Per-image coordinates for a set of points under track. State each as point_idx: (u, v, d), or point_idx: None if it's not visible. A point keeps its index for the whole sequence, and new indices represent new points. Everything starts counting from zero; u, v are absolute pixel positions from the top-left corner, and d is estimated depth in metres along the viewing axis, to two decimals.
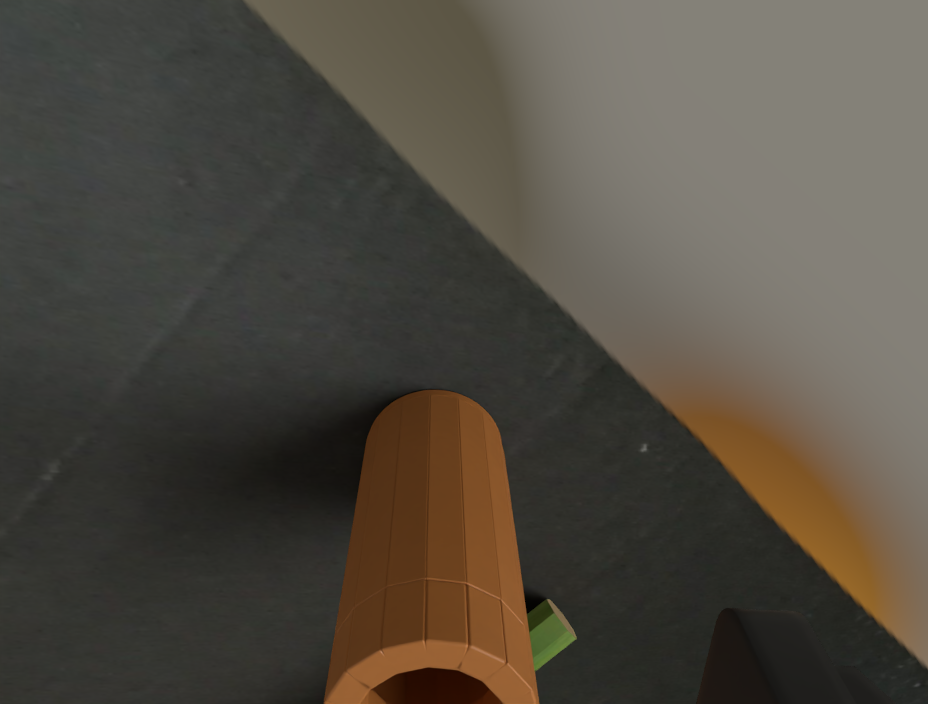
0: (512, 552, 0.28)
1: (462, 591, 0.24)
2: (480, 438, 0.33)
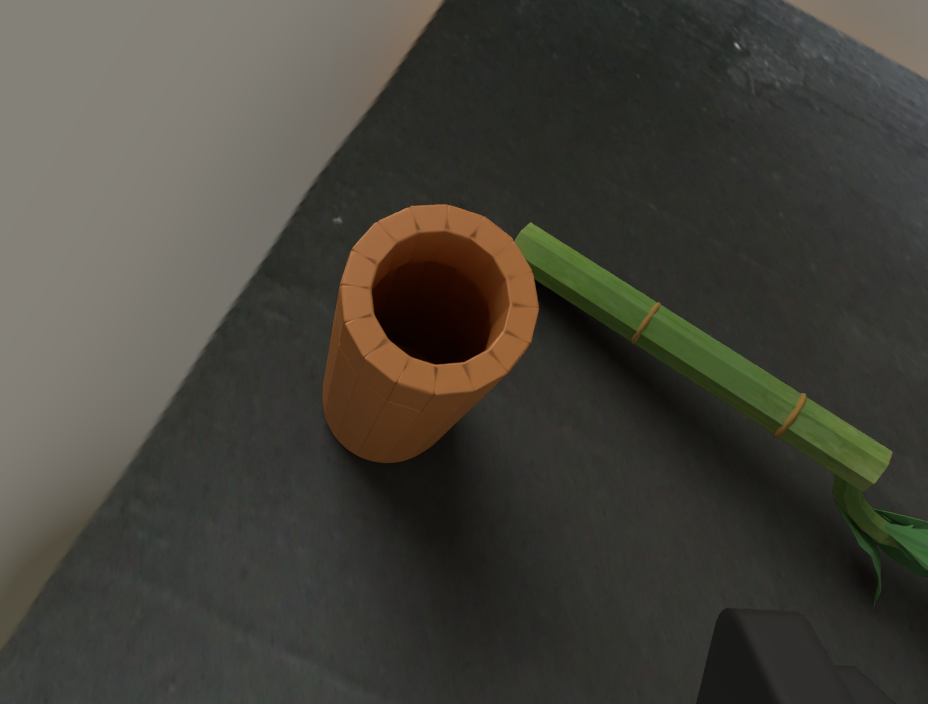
0: None
1: (337, 310, 0.26)
2: None
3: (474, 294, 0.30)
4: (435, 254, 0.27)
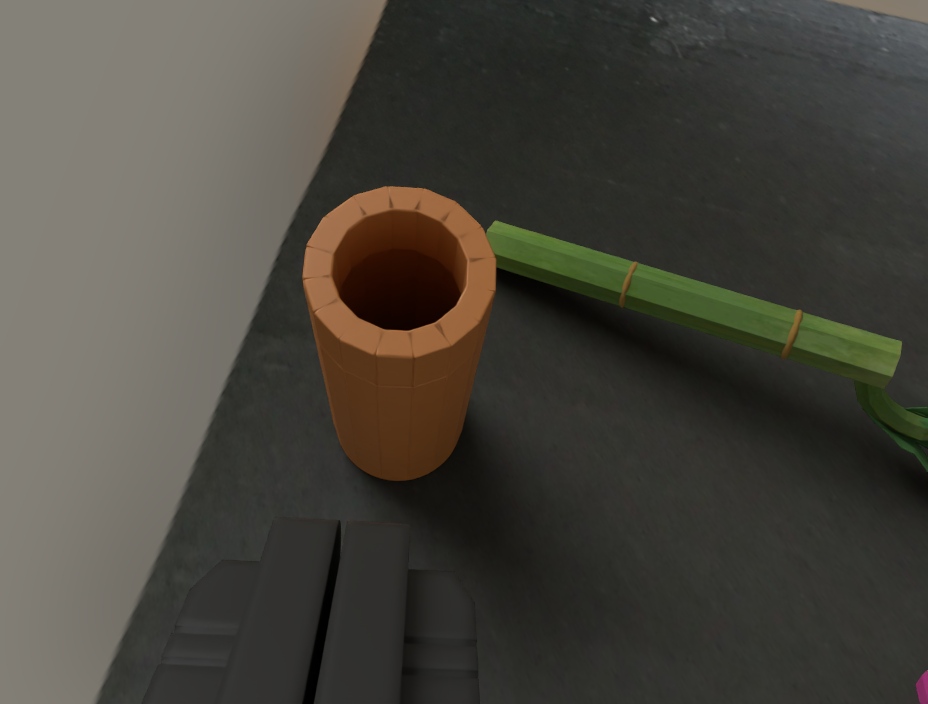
0: None
1: (310, 312, 0.27)
2: None
3: (443, 276, 0.31)
4: (391, 240, 0.28)
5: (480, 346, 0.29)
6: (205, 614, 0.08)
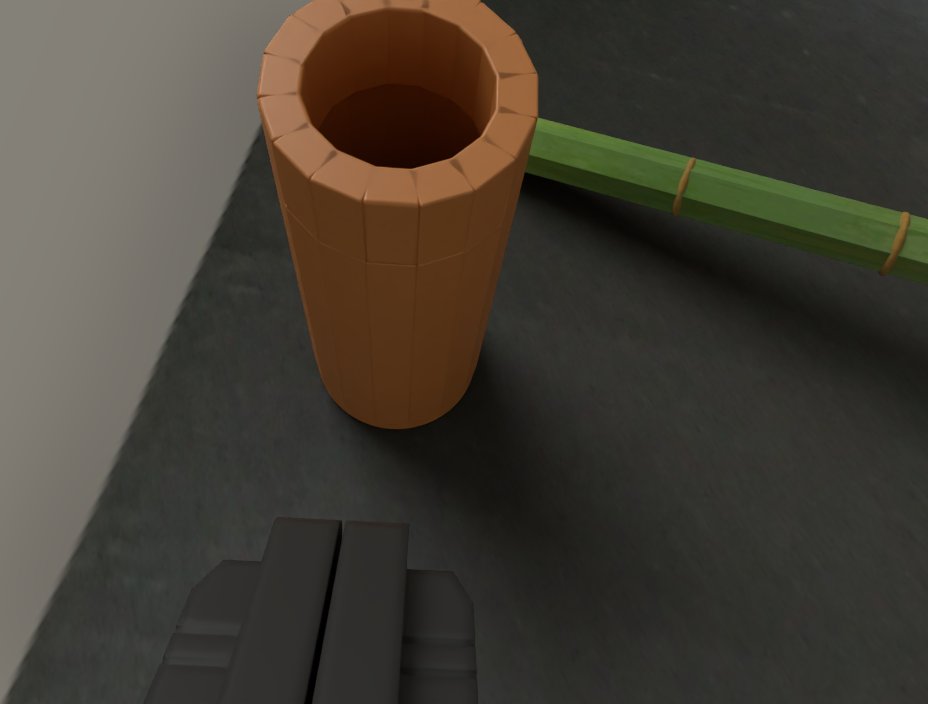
0: None
1: (271, 161, 0.19)
2: None
3: (457, 136, 0.23)
4: (386, 66, 0.20)
5: (510, 220, 0.21)
6: (208, 615, 0.08)
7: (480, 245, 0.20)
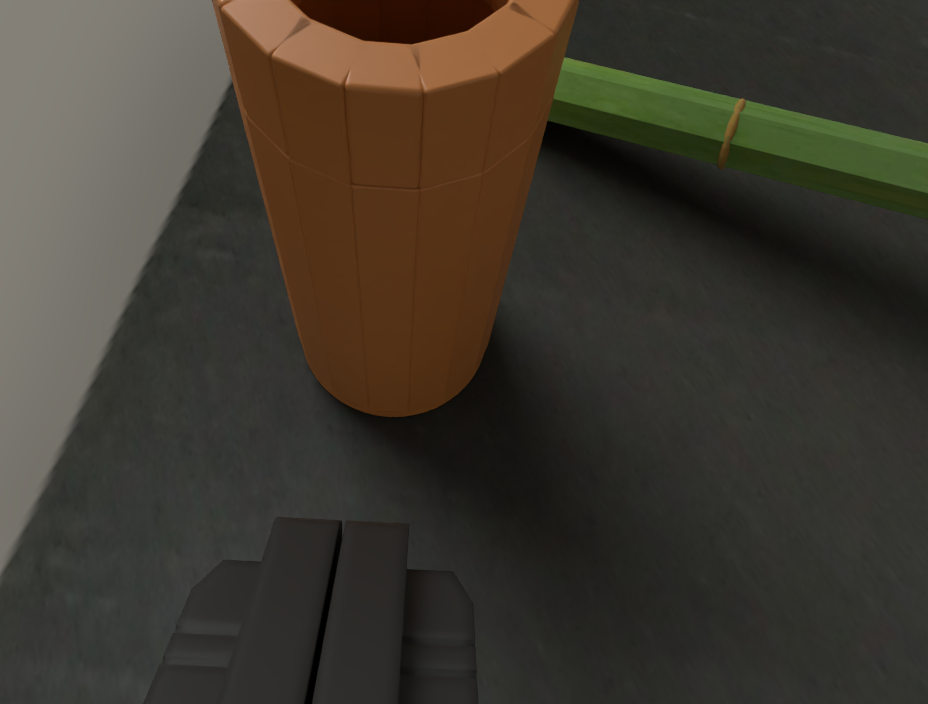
0: None
1: (227, 53, 0.15)
2: None
3: None
4: None
5: (539, 140, 0.16)
6: (206, 614, 0.08)
7: (502, 166, 0.15)
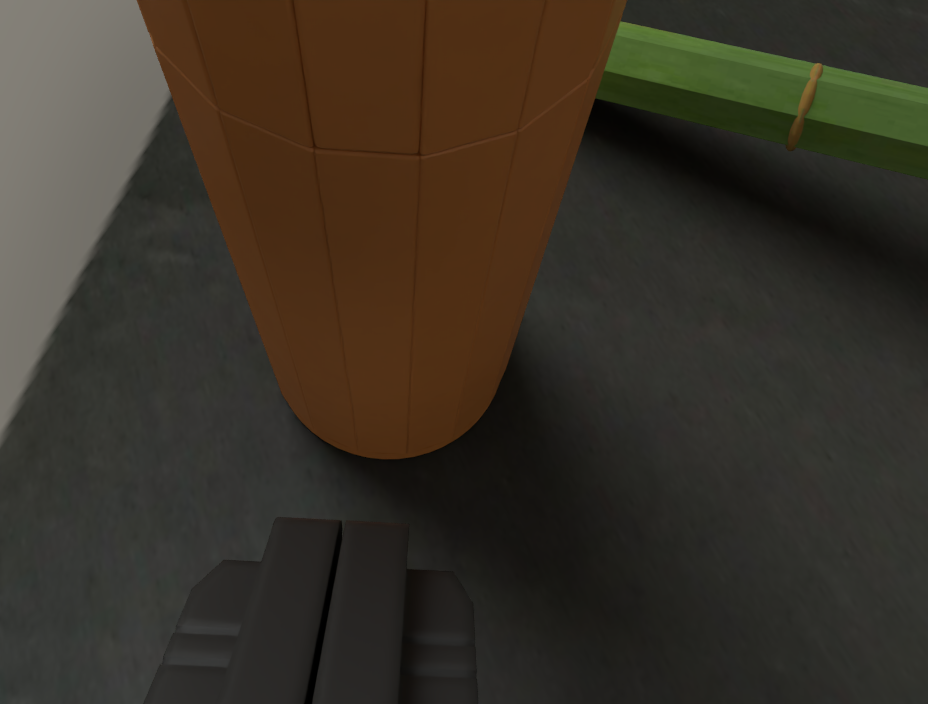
0: None
1: None
2: None
3: None
4: None
5: (594, 90, 0.11)
6: (206, 614, 0.08)
7: (546, 123, 0.10)
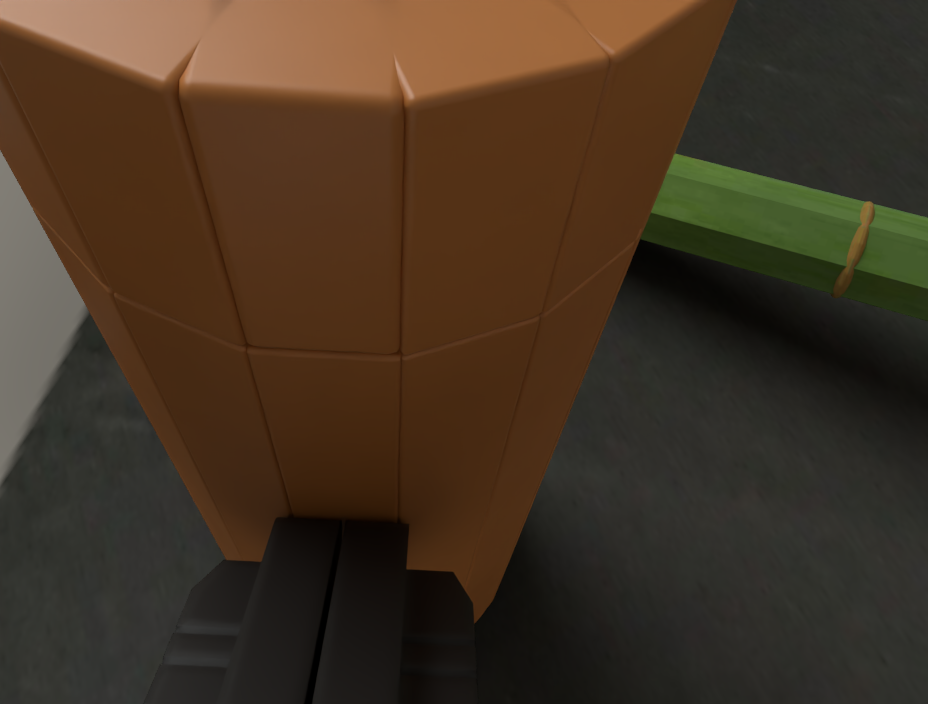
0: None
1: None
2: None
3: None
4: None
5: (634, 250, 0.08)
6: (207, 615, 0.08)
7: (578, 302, 0.07)
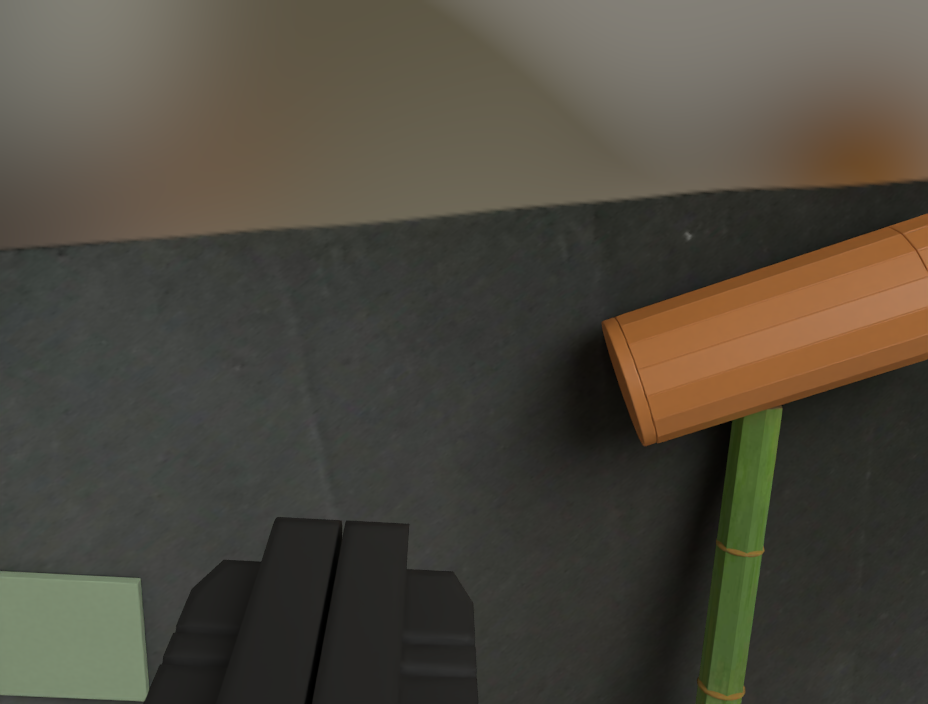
0: None
1: (912, 232, 0.35)
2: (675, 299, 0.37)
3: None
4: None
5: None
6: (206, 614, 0.08)
7: None
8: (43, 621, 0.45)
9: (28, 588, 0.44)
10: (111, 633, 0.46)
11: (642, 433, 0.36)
